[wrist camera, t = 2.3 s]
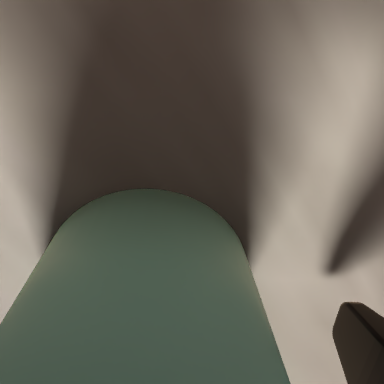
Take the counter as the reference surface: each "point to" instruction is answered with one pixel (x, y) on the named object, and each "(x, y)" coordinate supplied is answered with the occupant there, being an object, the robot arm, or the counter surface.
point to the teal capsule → (141, 301)
